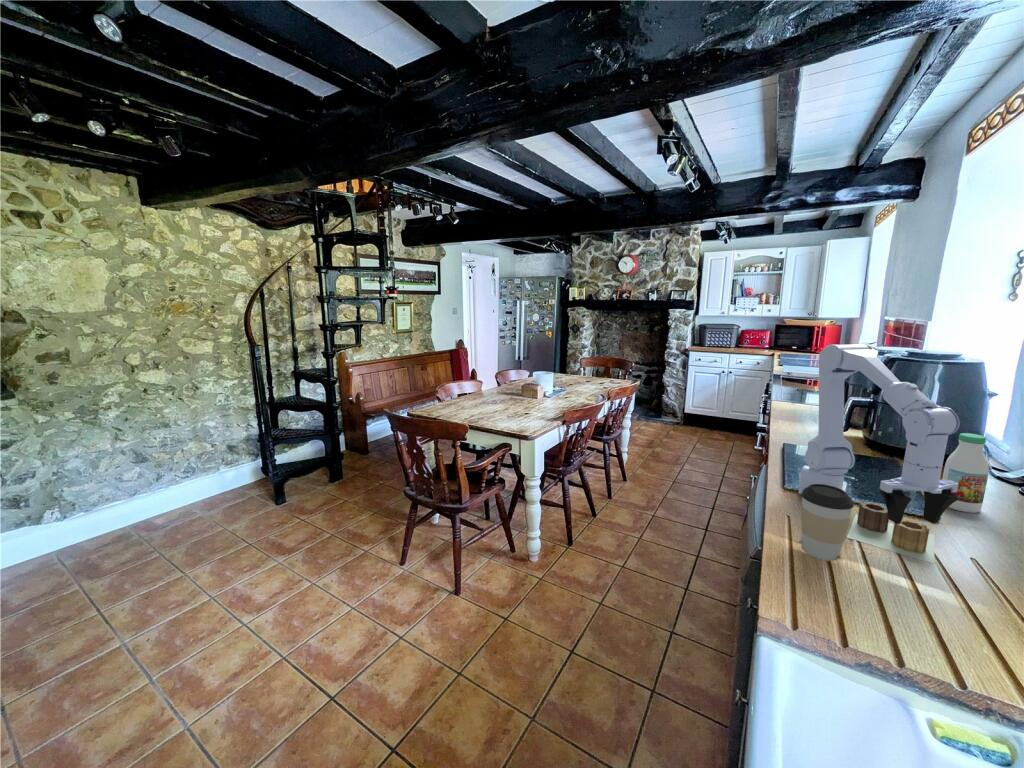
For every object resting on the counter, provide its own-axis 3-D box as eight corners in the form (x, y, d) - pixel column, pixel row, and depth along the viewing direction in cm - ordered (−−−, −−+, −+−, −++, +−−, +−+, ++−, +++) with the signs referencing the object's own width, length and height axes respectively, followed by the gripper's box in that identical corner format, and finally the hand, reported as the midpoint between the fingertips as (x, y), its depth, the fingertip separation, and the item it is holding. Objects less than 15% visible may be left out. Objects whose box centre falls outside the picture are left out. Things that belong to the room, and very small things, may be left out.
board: (846, 542, 93) (848, 525, 92) (855, 518, 103) (857, 503, 102) (933, 569, 83) (936, 550, 82) (933, 539, 93) (936, 523, 92)
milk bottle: (929, 500, 111) (942, 431, 107) (955, 499, 111) (968, 430, 108) (963, 514, 103) (977, 440, 100) (989, 512, 104) (1005, 439, 100)
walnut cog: (855, 526, 97) (858, 507, 96) (858, 518, 100) (861, 499, 99) (886, 535, 93) (889, 515, 92) (888, 526, 96) (891, 507, 96)
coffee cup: (838, 545, 91) (847, 483, 89) (852, 568, 83) (862, 501, 81) (791, 536, 95) (798, 477, 93) (800, 557, 87) (807, 493, 84)
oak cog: (890, 545, 89) (893, 525, 88) (892, 536, 92) (896, 516, 91) (924, 556, 85) (928, 534, 84) (926, 546, 88) (930, 525, 87)
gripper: (905, 470, 81) (895, 531, 84) (978, 470, 81) (966, 531, 83) (875, 458, 88) (866, 514, 91) (942, 457, 88) (932, 513, 90)
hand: (912, 521), depth 88 cm, fingers open, 7 cm apart
